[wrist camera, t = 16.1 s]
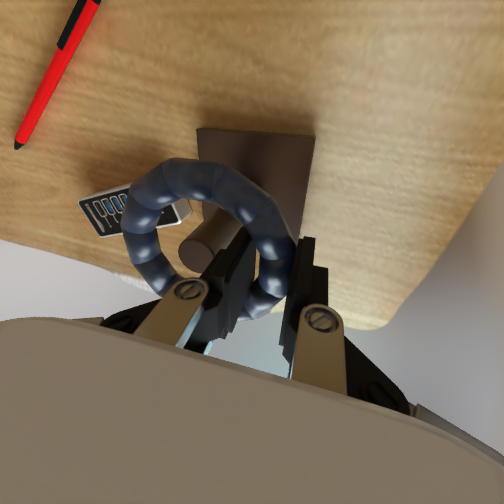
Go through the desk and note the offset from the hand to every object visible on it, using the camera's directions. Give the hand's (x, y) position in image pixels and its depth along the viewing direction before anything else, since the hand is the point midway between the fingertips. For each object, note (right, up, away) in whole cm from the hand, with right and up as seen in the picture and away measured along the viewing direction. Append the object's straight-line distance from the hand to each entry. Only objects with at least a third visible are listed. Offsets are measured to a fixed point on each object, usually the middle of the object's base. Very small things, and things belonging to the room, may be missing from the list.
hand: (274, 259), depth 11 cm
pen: (-18, +15, +9) cm, 25 cm away
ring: (-3, 0, 0) cm, 3 cm away
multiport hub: (-13, +6, +13) cm, 19 cm away
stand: (-1, +6, +9) cm, 11 cm away
